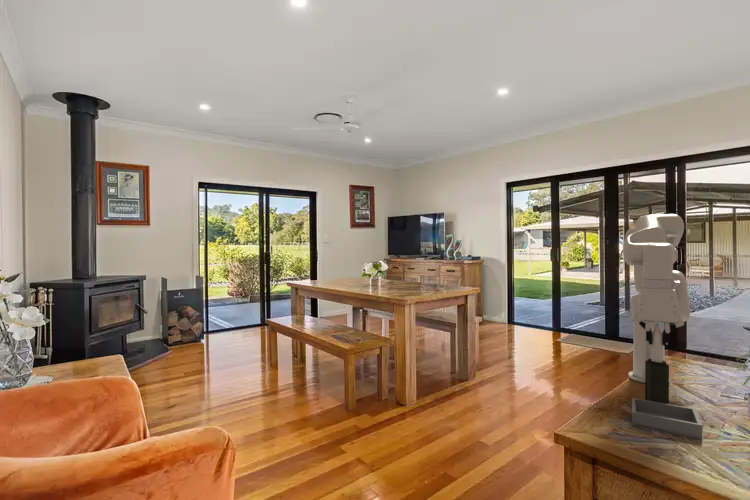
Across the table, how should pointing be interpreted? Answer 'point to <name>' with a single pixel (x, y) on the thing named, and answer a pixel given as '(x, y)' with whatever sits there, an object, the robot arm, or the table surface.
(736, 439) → the table surface
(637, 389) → the table surface
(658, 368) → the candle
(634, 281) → the robot arm
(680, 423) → the tray
